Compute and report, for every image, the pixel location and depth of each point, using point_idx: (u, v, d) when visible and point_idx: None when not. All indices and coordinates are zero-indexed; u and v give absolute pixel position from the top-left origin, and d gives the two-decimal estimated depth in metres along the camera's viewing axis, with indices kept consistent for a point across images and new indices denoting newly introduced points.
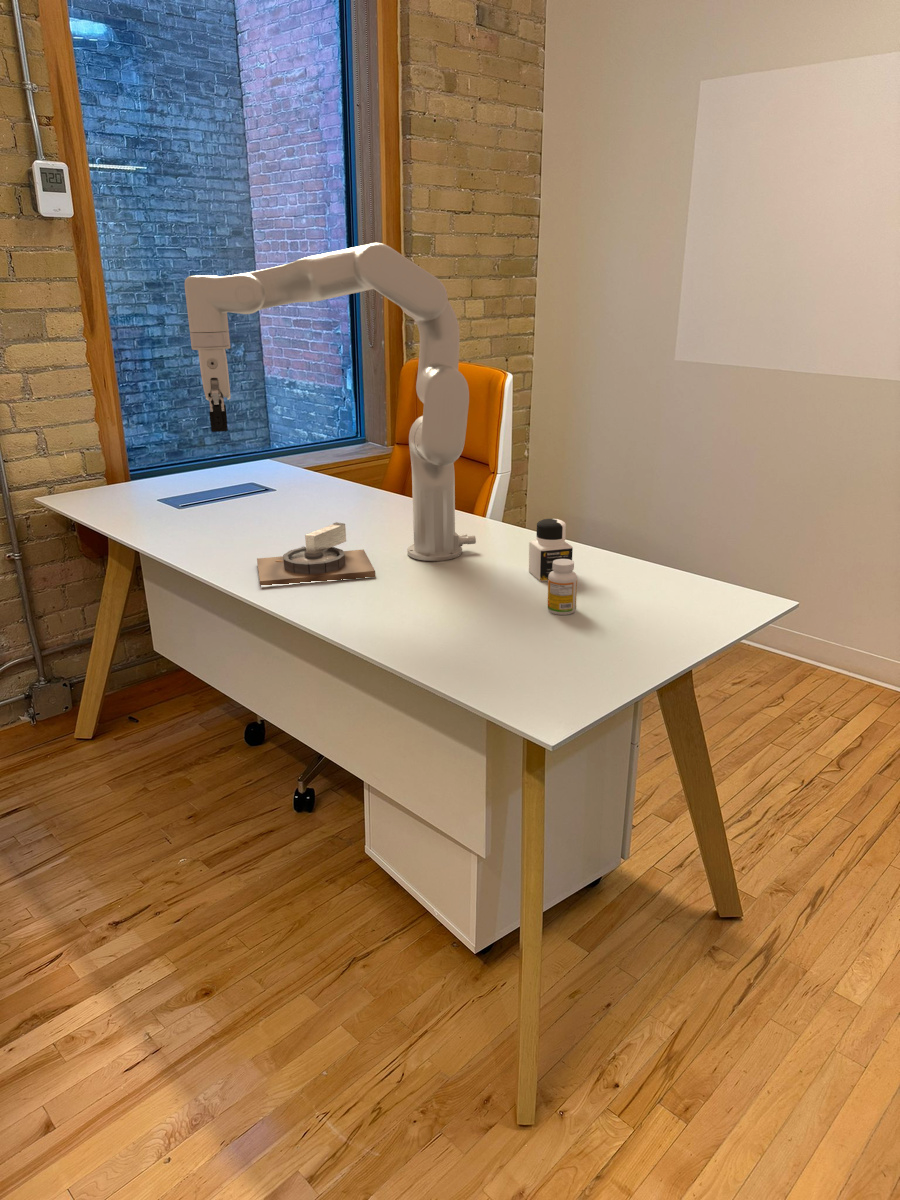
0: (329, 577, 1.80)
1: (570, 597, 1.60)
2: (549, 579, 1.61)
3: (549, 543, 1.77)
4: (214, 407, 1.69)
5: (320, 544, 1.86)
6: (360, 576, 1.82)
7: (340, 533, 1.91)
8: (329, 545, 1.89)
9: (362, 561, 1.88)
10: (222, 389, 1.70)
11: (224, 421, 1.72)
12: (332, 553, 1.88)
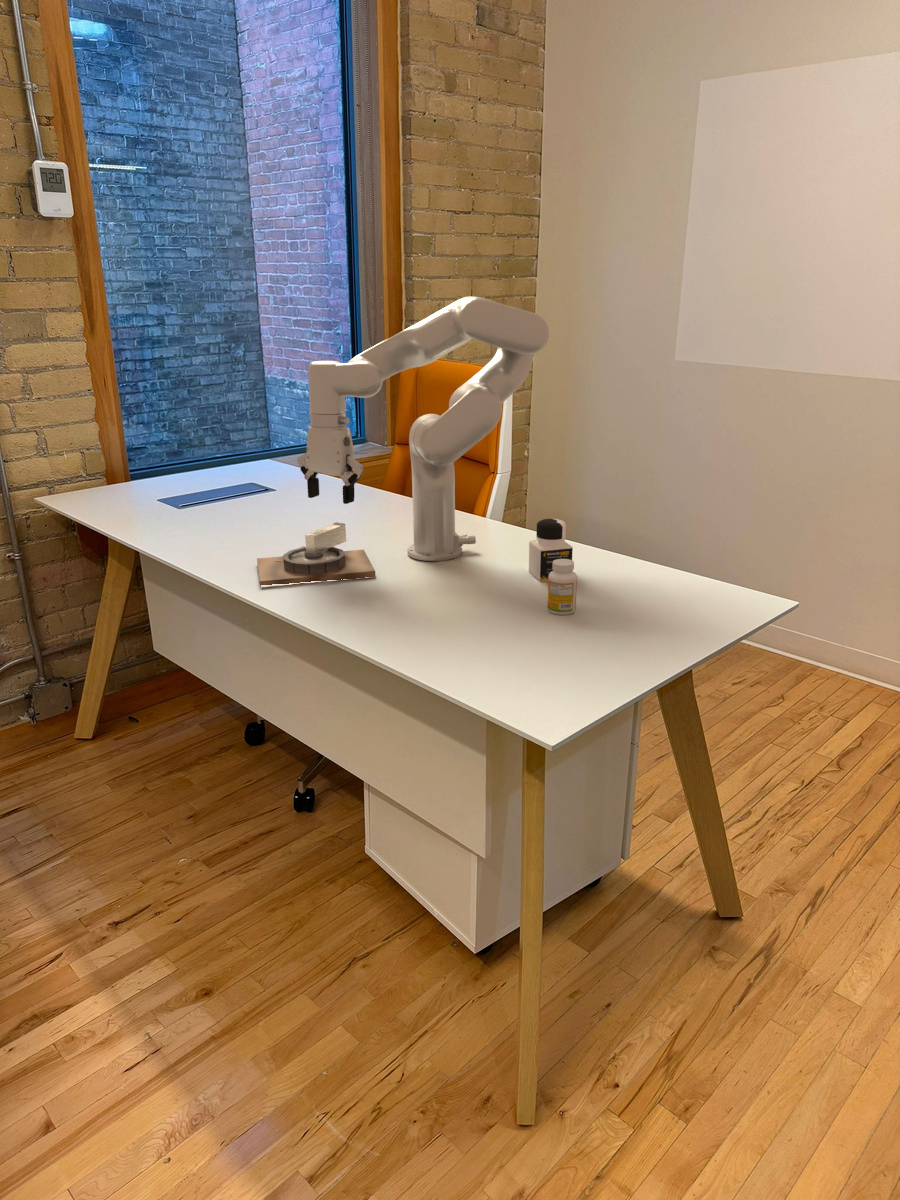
0: (329, 577, 1.80)
1: (570, 597, 1.60)
2: (549, 579, 1.61)
3: (549, 543, 1.77)
4: (354, 481, 1.84)
5: (320, 544, 1.86)
6: (360, 576, 1.82)
7: (340, 533, 1.91)
8: (329, 545, 1.89)
9: (362, 561, 1.88)
10: None
11: None
12: (332, 553, 1.88)
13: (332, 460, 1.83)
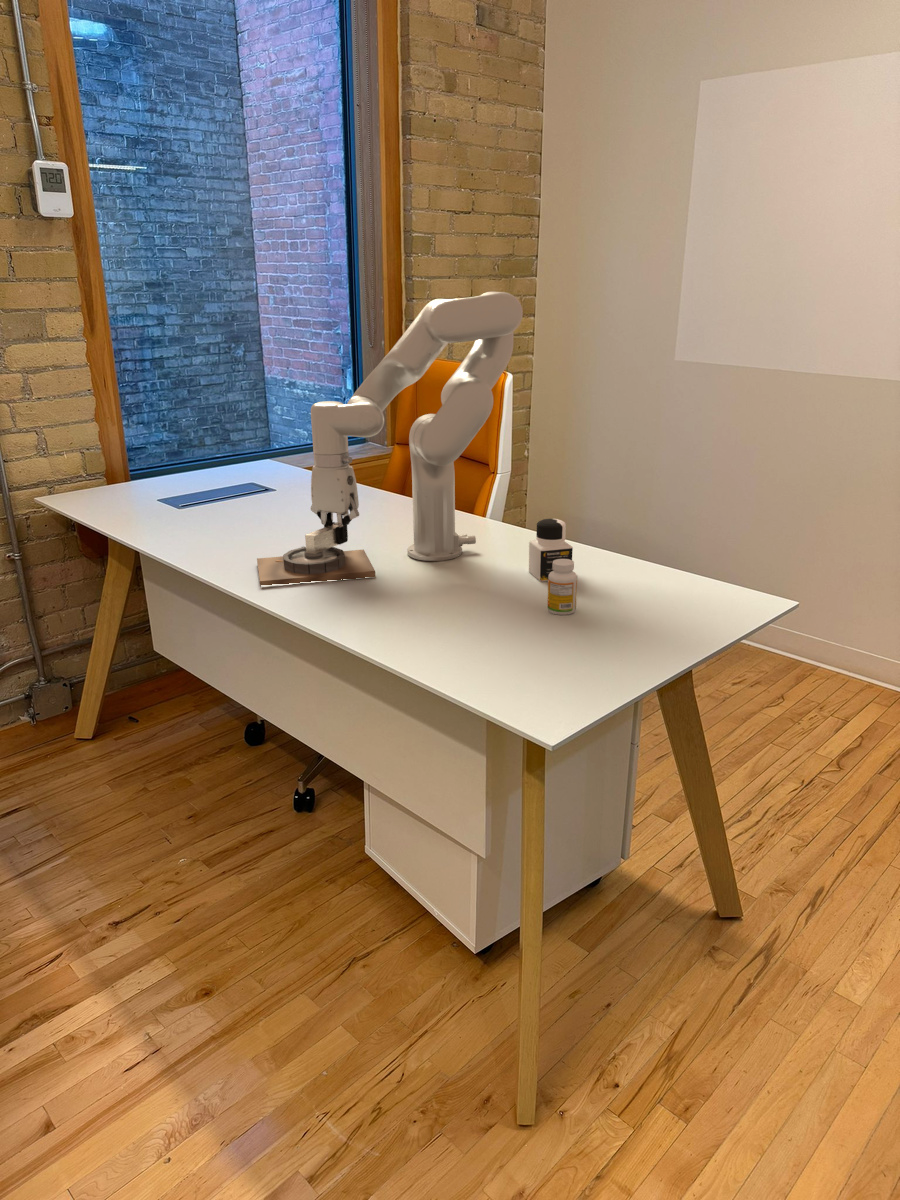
0: (329, 577, 1.80)
1: (570, 597, 1.60)
2: (549, 579, 1.61)
3: (549, 543, 1.77)
4: (346, 522, 1.89)
5: (320, 544, 1.86)
6: (360, 576, 1.82)
7: None
8: (329, 545, 1.89)
9: (362, 561, 1.88)
10: (356, 501, 1.88)
11: None
12: (332, 553, 1.88)
13: (336, 499, 1.86)
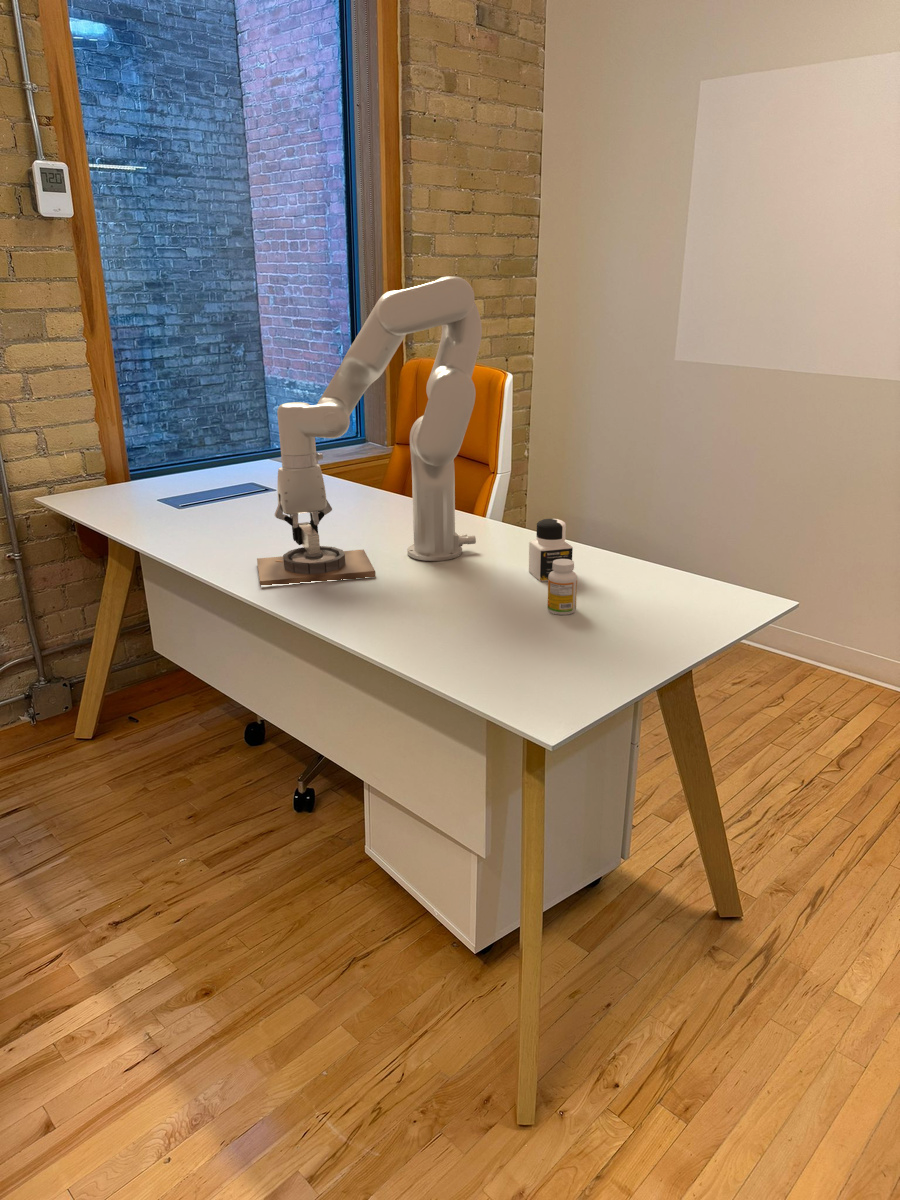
0: (329, 577, 1.80)
1: (570, 597, 1.60)
2: (549, 579, 1.61)
3: (549, 543, 1.77)
4: None
5: None
6: (360, 576, 1.82)
7: None
8: None
9: (362, 561, 1.88)
10: None
11: None
12: None
13: (316, 496, 1.88)
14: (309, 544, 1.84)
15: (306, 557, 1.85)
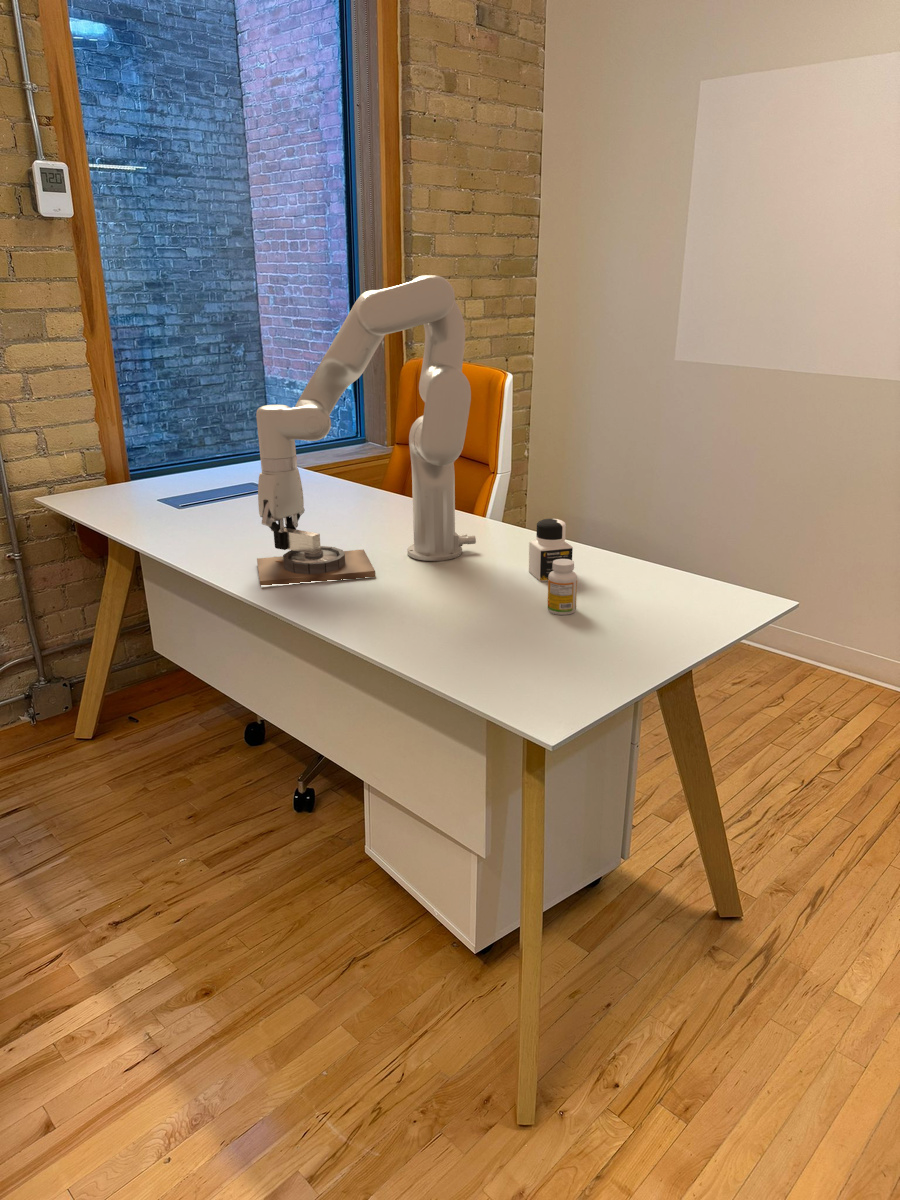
0: (329, 577, 1.80)
1: (570, 597, 1.60)
2: (549, 579, 1.61)
3: (549, 543, 1.77)
4: None
5: None
6: (360, 576, 1.82)
7: None
8: None
9: (362, 561, 1.88)
10: None
11: None
12: None
13: (298, 498, 1.87)
14: (313, 544, 1.84)
15: (311, 558, 1.85)
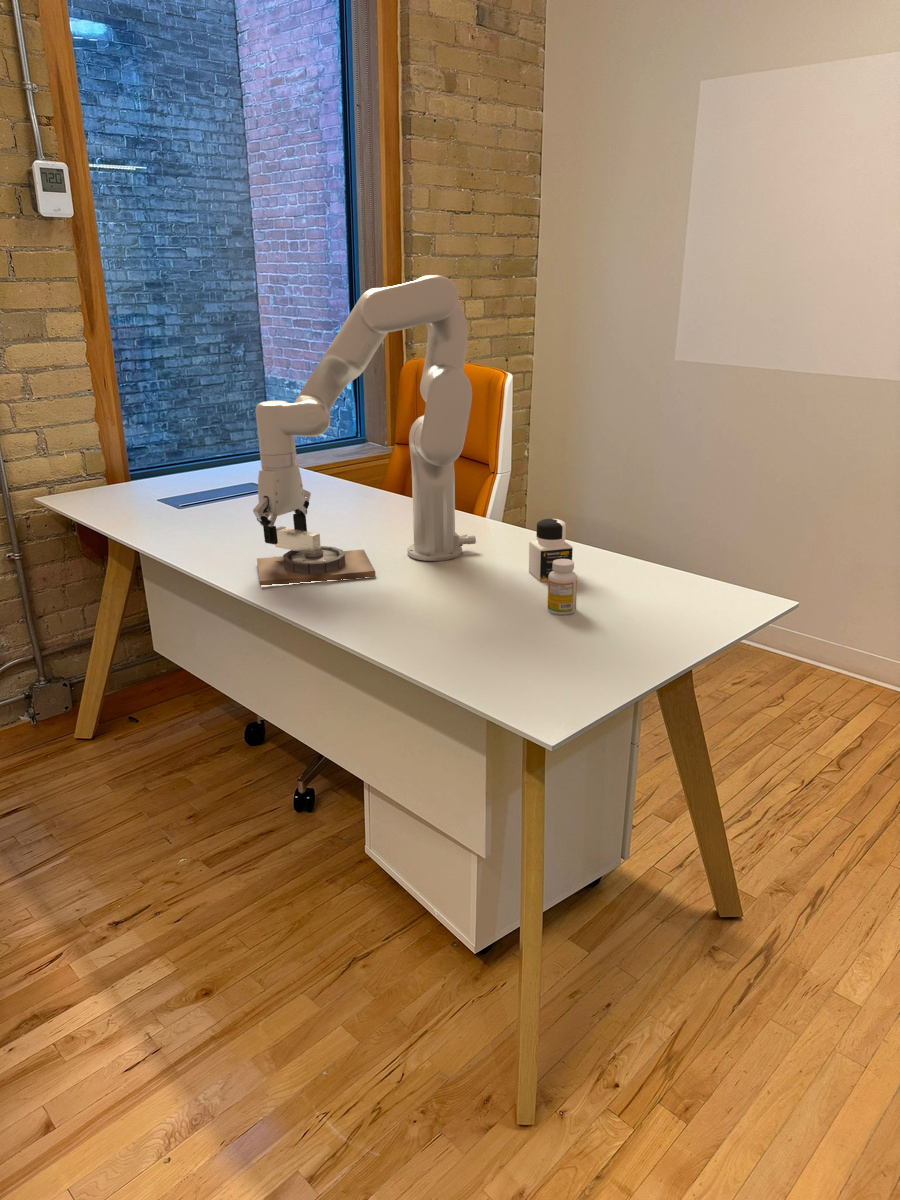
0: (329, 577, 1.80)
1: (570, 597, 1.60)
2: (549, 579, 1.61)
3: (549, 543, 1.77)
4: None
5: None
6: (360, 576, 1.82)
7: None
8: None
9: (362, 561, 1.88)
10: None
11: None
12: None
13: (298, 494, 1.87)
14: (313, 544, 1.84)
15: (311, 558, 1.85)
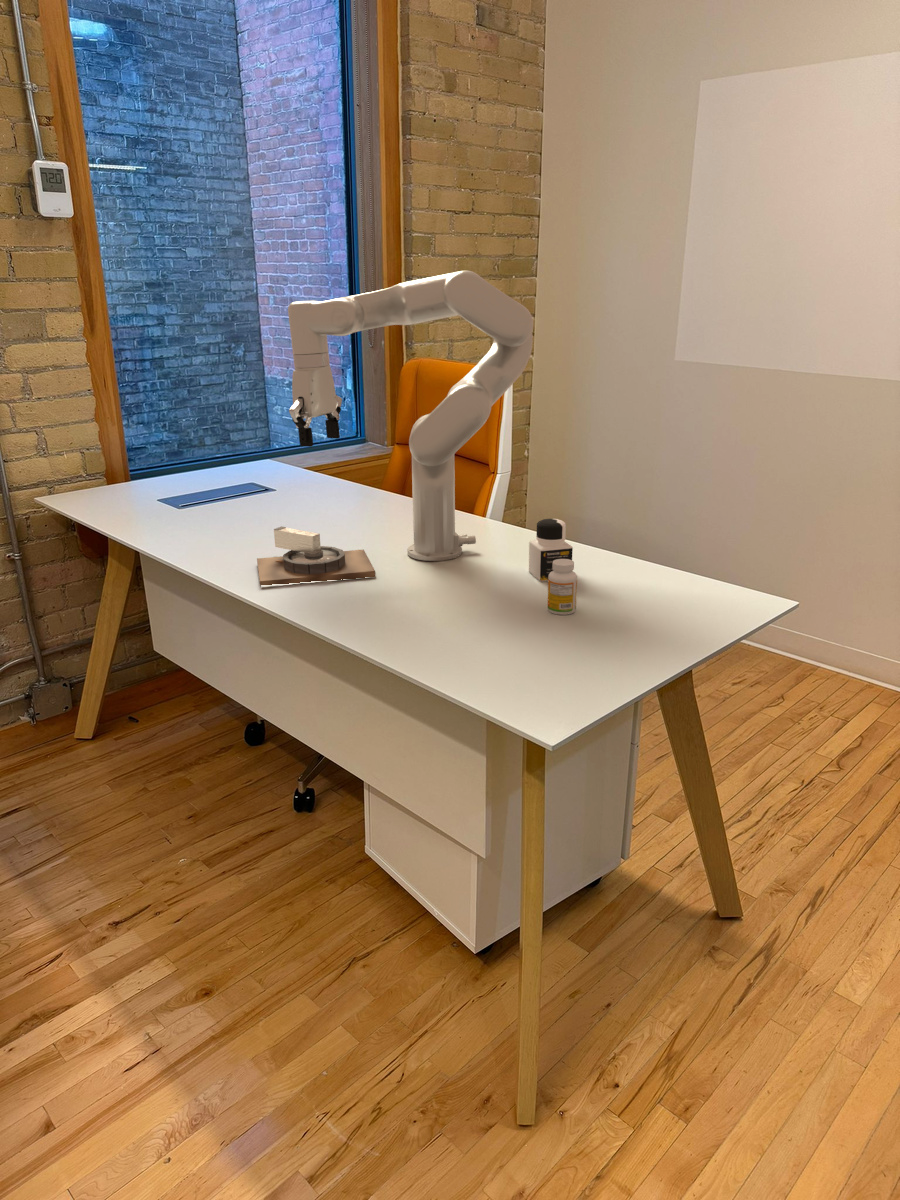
0: (329, 577, 1.80)
1: (570, 597, 1.60)
2: (549, 579, 1.61)
3: (549, 543, 1.77)
4: None
5: None
6: (360, 576, 1.82)
7: None
8: None
9: (362, 561, 1.88)
10: None
11: None
12: None
13: (331, 397, 1.87)
14: (313, 544, 1.84)
15: (311, 558, 1.85)
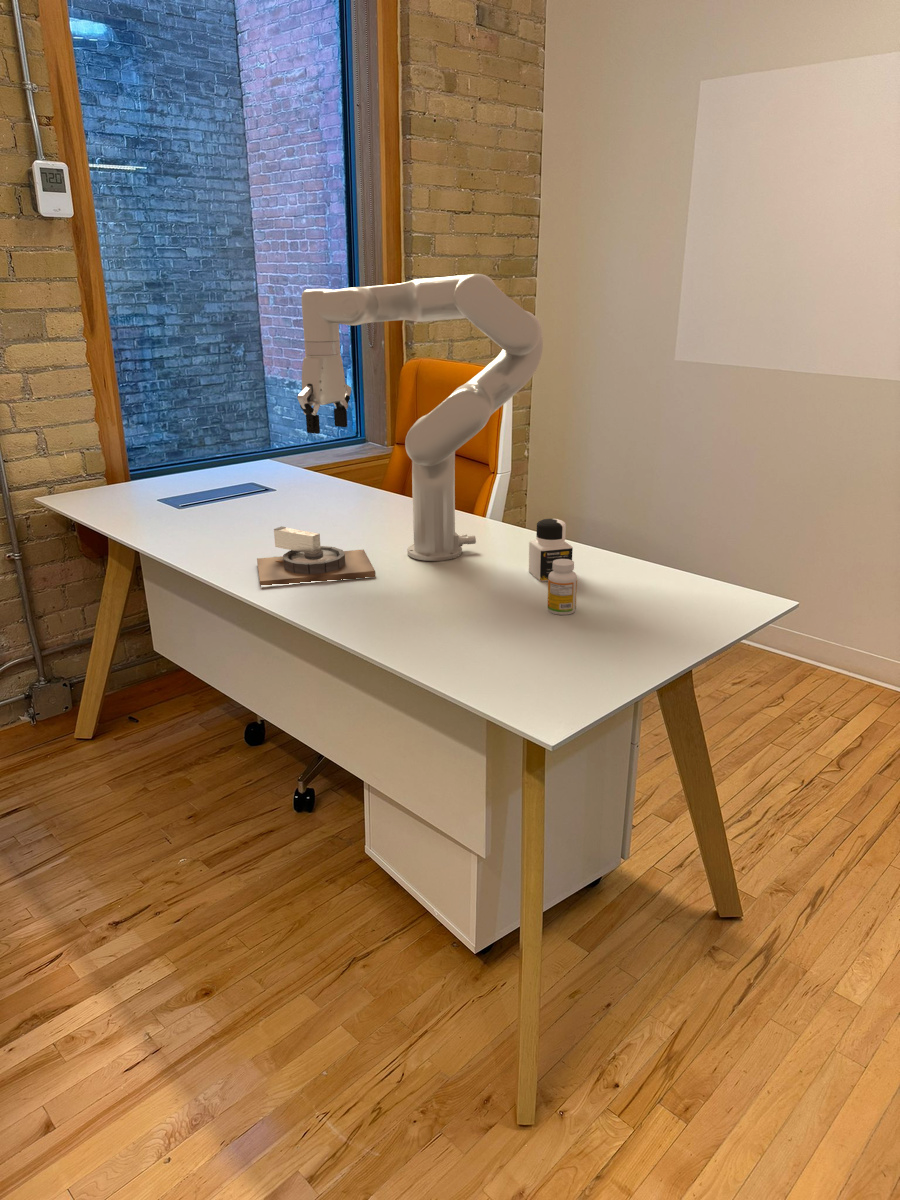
0: (329, 577, 1.80)
1: (570, 597, 1.60)
2: (549, 579, 1.61)
3: (549, 543, 1.77)
4: None
5: None
6: (360, 576, 1.82)
7: None
8: None
9: (362, 561, 1.88)
10: None
11: None
12: None
13: (340, 386, 1.89)
14: (313, 544, 1.84)
15: (311, 558, 1.85)
